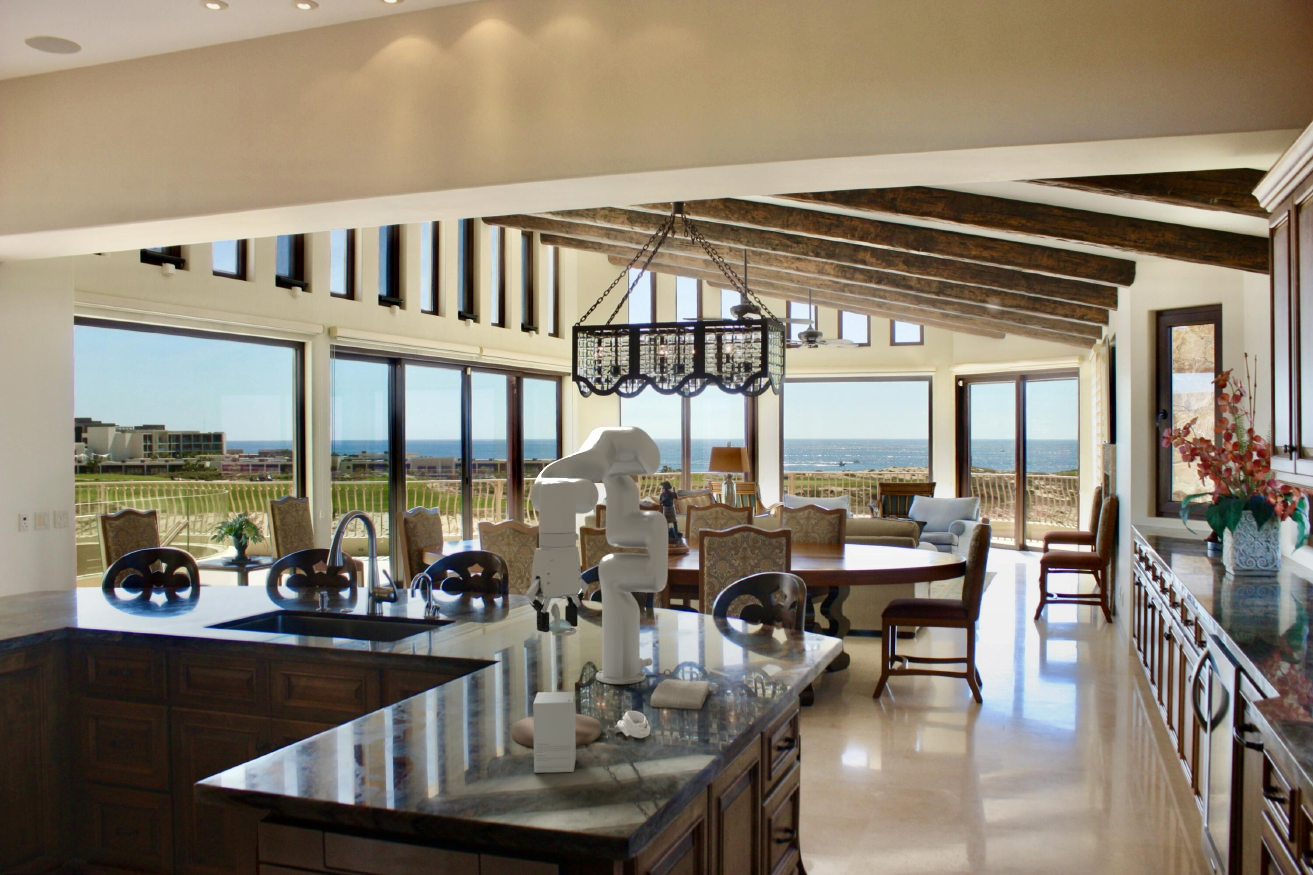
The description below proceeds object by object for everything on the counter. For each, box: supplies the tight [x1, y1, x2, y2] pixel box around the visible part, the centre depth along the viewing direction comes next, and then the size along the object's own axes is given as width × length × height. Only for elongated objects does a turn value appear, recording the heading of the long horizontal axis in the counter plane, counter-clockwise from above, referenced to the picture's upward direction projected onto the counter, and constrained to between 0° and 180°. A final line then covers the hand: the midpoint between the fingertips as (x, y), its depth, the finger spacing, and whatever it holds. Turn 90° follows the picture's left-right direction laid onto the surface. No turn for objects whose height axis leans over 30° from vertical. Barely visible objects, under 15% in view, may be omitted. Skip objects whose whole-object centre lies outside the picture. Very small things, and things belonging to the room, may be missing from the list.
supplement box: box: [532, 691, 577, 774], centre depth 161 cm, size 7×7×13 cm
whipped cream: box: [613, 710, 651, 739], centre depth 180 cm, size 8×7×5 cm
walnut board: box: [511, 713, 602, 748], centre depth 179 cm, size 18×18×2 cm
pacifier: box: [549, 602, 577, 637], centre depth 180 cm, size 7×6×6 cm
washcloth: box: [649, 678, 711, 710], centre depth 205 cm, size 12×18×3 cm, turn 170°
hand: (557, 627), depth 180 cm, fingers closed on pacifier, 6 cm apart
